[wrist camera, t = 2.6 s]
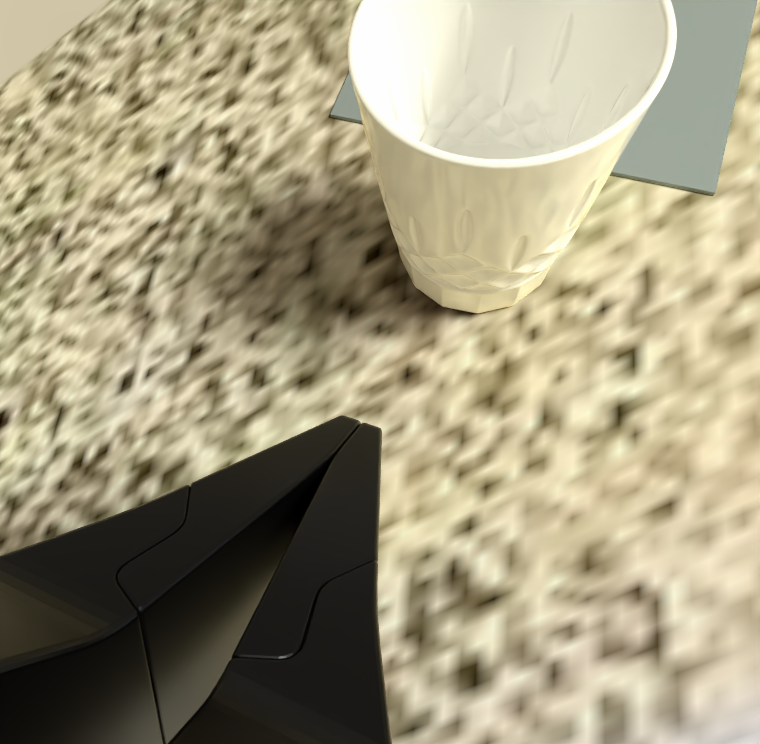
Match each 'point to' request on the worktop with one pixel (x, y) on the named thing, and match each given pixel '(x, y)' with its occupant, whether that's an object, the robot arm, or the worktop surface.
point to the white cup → (499, 127)
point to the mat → (676, 99)
